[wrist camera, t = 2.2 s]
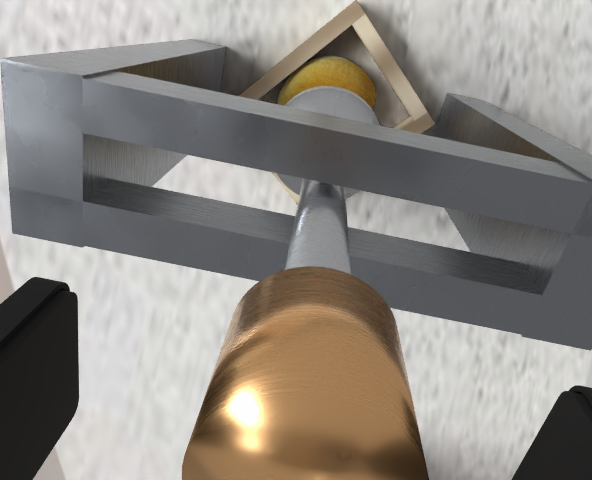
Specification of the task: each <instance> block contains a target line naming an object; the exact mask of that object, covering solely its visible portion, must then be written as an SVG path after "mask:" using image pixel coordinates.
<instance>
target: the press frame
mask: <svg viewBox="0 0 592 480" xmlns="http://www.w3.org/2000/svg"><path fill="white" fill-rule="evenodd" d="M225 53H226V47H225V46H221V45H216V44H211V43H206V42H201V41H197V40H192V39H189V40H179V41H169V42H159V43H149V44H139V45H129V46H119V47H109V48H99V49H89V50H79V51H69V52H59V53H49V54H39V55H29V56H19V57H9V58H0V66H1V80H2V94H3V108H4V122H5V136H6V150H7V164H8V178H9V192H10V206H11V220H12V233H14V234H19V235H24V236H28V237H33V238H38V239H43V240H48V241H53V242H58V243H63V244H68V245H73V246H78V247H84V246H88V247H93V248H98V249H103V250H108V251H113V252H118V253H123V254H128V255H133V256H137V257H142V258H147V259H152V260H157V261H162V262H167V263H172V264H177V265H182V266H187V267H192V268H197V269H202V270H207V271H211V272H216V273H221V274H226V275H231V276H236V277H241V278H246V279H251V280H256V281H261V280H263V279H264V278H266V277H268V276H270V275H272V274H274V273H277V272H280V271H283V270H285V266H286V261H287V256H288V251H289V246H290V241H291V236H292V231H293V226H294V221H295V216H291V215H286V214H281V213H276V212H271V211H266V210H261V209H256V208H251V207H247V206H242V205H237V204H232V203H227V202H222V201H217V200H212V199H208V198H203V197H198V196H193V195H188V194H183V193H178V192H173V191H168V190H164V189H159V188H154V187H152V186H153V185H154V184H155V183H156V182H157V181H158V180H160V179H161V178H162V177H163V176H164V175H165V174H166V173H167V172H169V171H170V170H171V169H172V168H173V167H174V166H175V165H176V164H178V163H179V162H180V161H181V160H182V159H183V158H184V157H186V156H187V155H192V156H197V157H201V158H206V159H211V160H216V161H221V162H226V163H231V164H235V165H240V166H245V167H250V168H255V169H260V170H265V171H269V172H274V173H279V174H284V175H289V176H294V177H299V178H304V179H308V180H313V181H318V182H323V183H328V184H333V185H338V186H342V187H347V188H352V189H357V190H362V191H367V192H372V193H376V194H381V195H386V196H391V197H396V198H401V199H406V200H410V201H415V202H420V203H425V204H430V205H435V206H440V207H444V208H445V210H446V211H447V213H448V215H449V216H450V218H451V220H452V221H453V223H454V225H455V226H456V228H457V230H458V231H459V233H460V235H461V236H462V238H463V239H464V241H465V243H466V244H467V246H468V248H469V249H470V251H471V252H466V251H462V250H457V249H452V248H447V247H442V246H437V245H432V244H427V243H422V242H418V241H413V240H408V239H403V238H398V237H393V236H388V235H383V234H378V233H374V232H369V231H364V230H359V229H354V228H349V227H348V241H349V255H350V270H351V275H353V276H355V277H357V278H359V279H361V280H362V281H364V282H365V283H367V284H368V285H370V286H371V287H372V288H373V289H375V290H376V291H377V292H378V293H379V294H380V295H381V296H382V298H383V299H384V300H385V301H386V303H387V304H388V306H389V308H394V309H399V310H404V311H409V312H414V313H419V314H424V315H429V316H433V317H438V318H443V319H448V320H453V321H458V322H463V323H468V324H473V325H478V326H483V327H488V328H493V329H498V330H503V331H507V332H512V333H517V334H521V335H522V337H527V338H532V339H537V340H542V341H547V342H552V343H556V344H561V345H566V346H571V347H576V348H581V349H586V350H591V349H592V156H591V155H589V154H587V153H585V152H583V151H581V150H579V149H577V148H575V147H573V146H572V145H570V144H568V143H566V142H564V141H562V140H560V139H558V138H556V137H554V136H552V135H550V134H548V133H546V132H544V131H542V130H540V129H538V128H536V127H534V126H532V125H530V124H528V123H526V122H524V121H522V120H520V119H518V118H516V117H514V116H512V115H510V114H508V113H506V112H504V111H502V110H500V109H498V108H496V107H494V106H492V105H490V104H489V103H487V102H485V101H483V100H479V99H474V98H469V97H465V96H460V95H455V94H450V93H447V95H446V98H445V101H444V104H443V108H442V111H441V114H440V117H439V120H438V124H437V127H436V130H435V133H434V136H433V137H432V136H428V135H423V134H418V133H413V132H408V131H403V130H399V129H394V128H389V127H384V126H379V125H375V124H370V123H365V122H360V121H355V120H351V119H346V118H341V117H336V116H331V115H326V114H322V113H317V112H312V111H307V110H302V109H298V108H293V107H288V106H283V105H278V104H273V103H269V102H264V101H259V100H254V99H249V98H245V97H240V96H235V95H230V94H225V93H221V86H222V78H223V70H224V61H225Z"/></svg>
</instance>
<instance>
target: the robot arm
mask: <svg viewBox="0 0 592 480" xmlns="http://www.w3.org/2000/svg"><path fill="white" fill-rule="evenodd" d="M78 402H79V367H78V300H77V295H76V293H74V292H70V289H69V286H68V284H66V283H64V282H59V281H54V280H49V279H44V278H39V277H33V278H31V279H30V280H28V281H27V282H26V283H25V284H24V285H22V286H21V287H20V288H19V289H18V290H17V291H15V292H14V293H13V294H12V295H11V296H9V297H8V298H7V299H6V300H5V301H4V302H2V303H1V304H0V480H33V478H34V477H35V475H36V473H37V472H38V470H39V469H40V467H41V466H42V464H43V463H44V461H45V460H46V458H47V457H48V455H49V454H50V452H51V451H52V449H53V447H54V446H55V444H56V443H57V441H58V440H59V438H60V437H61V435H62V434H63V432H64V431H65V429H66V428H67V426H68V425H69V423H70V421H71V420H72V418H73V416H74V414H75V412H76V409H77V406H78ZM512 480H592V388H589V387H584V386H574V387H572V388H571V389H570V390H569V391H564V392H563V393H561V395H560V396H559V397H558V399H557V401H556V403H555V404H554V406H553V408H552V410H551V411H550V413H549V415H548V417H547V418H546V420H545V422H544V424H543V425H542V427H541V429H540V431H539V432H538V434H537V436H536V438H535V439H534V441H533V443H532V445H531V446H530V448H529V450H528V452H527V453H526V455H525V457H524V459H523V460H522V462H521V464H520V466H519V467H518V469H517V471H516V473H515V474H514V476H513V478H512Z"/></svg>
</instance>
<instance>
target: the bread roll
mask: <svg viewBox="0 0 592 480" xmlns="http://www.w3.org/2000/svg"><path fill="white" fill-rule="evenodd" d="M317 86H337V87H341V88H345V89H347V90H350V91H352V92H354V93H355V94H357V95H358V96H360V97H361V98H362V99H363V100H365V102H366V103H367V104H368V105H369V106H370V107H371V109H372V108H373V106H374V104H375V100H376V90H375V87H374V84H373V82H372V81H371V79H370V78H369V76H368V75H367V74H366V73H365V72H364V71H363V70H362V69H361V68H360V67H359V66H357V65H356V64H354V63H353V62H351V61H349V60H348V59H346V58H343V57H339V56H322V57H319V58H315V59H313V60H311V61H309V62H307V63H304V64H303V65H301V66H300V67H298V68H297V69H296V70H295V71H294V72H293V73H292V74H291V75H290V77H289V78H288V79H287V80H286V82H285V83H284V85H283V88H282V89H281V91H280V94H279V97H278V102H277V104H278V105H283V106H285V105H286V103H287V102H288V101H289V100H290V99H292V98H293V97H294V96H295V95H297V94H299V93H300V92H302V91H305V90H307V89H309V88H313V87H317Z"/></svg>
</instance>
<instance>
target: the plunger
mask: <svg viewBox="0 0 592 480" xmlns="http://www.w3.org/2000/svg"><path fill="white" fill-rule="evenodd" d="M285 106H288V107H293V108H298V109H302V110H307V111H312V112H317V113H322V114H326V115H331V116H336V117H341V118H346V119H351V120H355V121H360V122H365V123H370V124H375V125H379V126H380V124H379V122H378V120H377V117H376V116H375V114H374V112H373V110H372V109H371V107H370V106H369V105H368V104H367V103H366V102H365V100H363V99H362V98H361V97H360V96H358V95H357V94H355V93H354V92H352V91H350V90H347V89H345V88H341V87H337V86H317V87H313V88H309V89H307V90H305V91H302V92H300V93H299V94H297V95H295V96H294V97H293V98H292V99H290V100H289V101H288V102H287V103H286V105H285ZM276 174H277V175H278V177H279V178H280V180H281V181H282V182H283V183H284V184H285V185H286V186H287V187H288V188H289V189H290V190H292V191H293V192H294V193H296V194H298V195H299V201H298V206H297V211H296V216H295V221H294V226H293V231H292V236H291V241H290V246H289V251H288V256H287V261H286V266H285V270H283V271H280V272H277V273H274V274H272V275H270V276H268V277H266V278H264V279H263V280H261V281H260V282H258V283H257V284H255V285H254V286H253V287H252V288H251V289H250V290H249V291H248V292H247V293H246V294H245V295H244V296H243V298H242V299H241V301H240V302H239V304H238V305H237V307H236V310H235V312H234V314H233V317H232V320H231V323H230V326H229V329H228V332H227V334H226V337H225V340H224V343H223V346H222V349H221V352H220V355H219V358H218V360H217V363H216V366H215V369H214V372H213V375H212V378H211V381H210V384H209V386H208V389H207V392H206V395H205V398H204V401H203V404H202V407H201V410H200V412H199V415H198V418H197V421H196V424H195V427H194V430H193V433H192V436H191V438H190V441H189V444H188V447H187V450H186V453H185V456H184V460H183V465H182V480H429V477H428V473H427V468H426V463H425V458H424V454H423V449H422V444H421V439H420V434H419V430H418V425H417V420H416V415H415V411H414V406H413V401H412V396H411V392H410V387H409V382H408V377H407V372H406V368H405V363H404V358H403V353H402V349H401V344H400V339H399V334H398V330H397V325H396V321H395V318H394V316H393V313H392V311H391V309H390V308H389V306H388V304H387V303H386V301H385V300H384V299H383V298H382V296H381V295H380V294H379V293H378V292H377V291H376V290H375V289H373V288H372V287H371V286H370V285H368V284H367V283H365V282H364V281H362V280H361V279H359V278H357V277H355V276H353V275H351V270H350V255H349V241H348V226H347V212H346V198H348V197H350V196H352V195H354V194H356V193H357V192H359V191H360V190H357V189H352V188H347V187H342V186H338V185H333V184H328V183H323V182H318V181H313V180H308V179H304V178H299V177H294V176H289V175H284V174H279V173H276Z"/></svg>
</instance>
